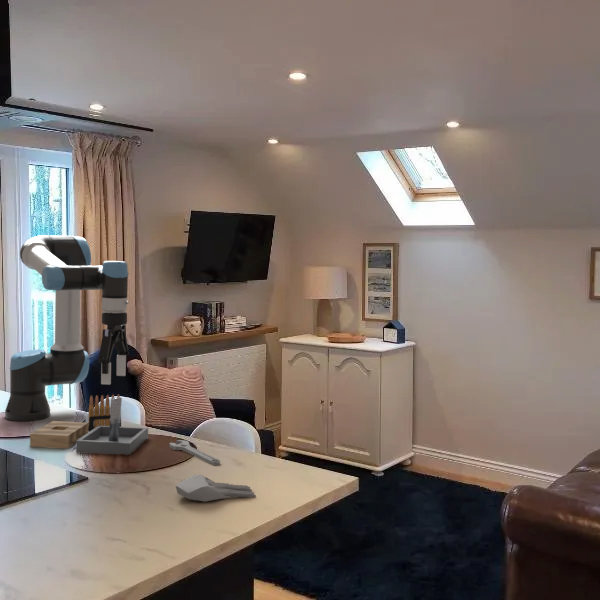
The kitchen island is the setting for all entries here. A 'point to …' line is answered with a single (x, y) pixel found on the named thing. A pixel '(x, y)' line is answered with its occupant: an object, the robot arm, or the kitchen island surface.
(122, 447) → the tray
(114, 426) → the pin
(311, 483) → the kitchen island surface
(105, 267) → the robot arm
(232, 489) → the turret
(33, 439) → the tan board with hole
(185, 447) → the adjustable wrench
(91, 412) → the ammunition clip
